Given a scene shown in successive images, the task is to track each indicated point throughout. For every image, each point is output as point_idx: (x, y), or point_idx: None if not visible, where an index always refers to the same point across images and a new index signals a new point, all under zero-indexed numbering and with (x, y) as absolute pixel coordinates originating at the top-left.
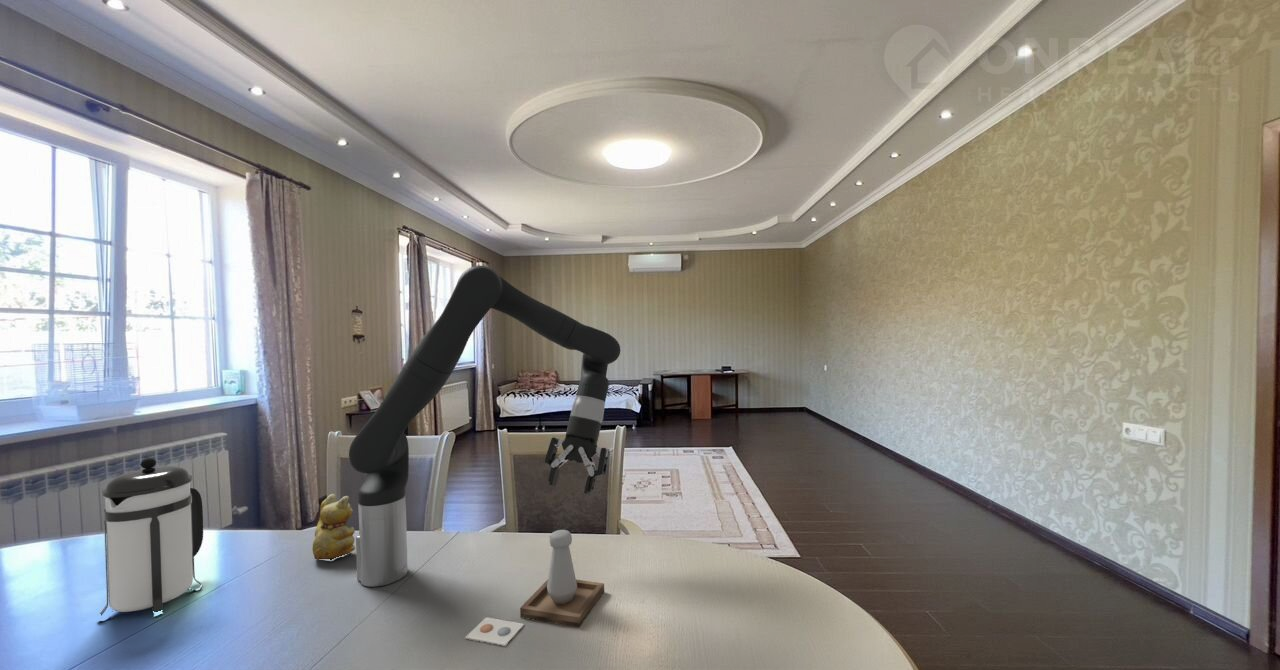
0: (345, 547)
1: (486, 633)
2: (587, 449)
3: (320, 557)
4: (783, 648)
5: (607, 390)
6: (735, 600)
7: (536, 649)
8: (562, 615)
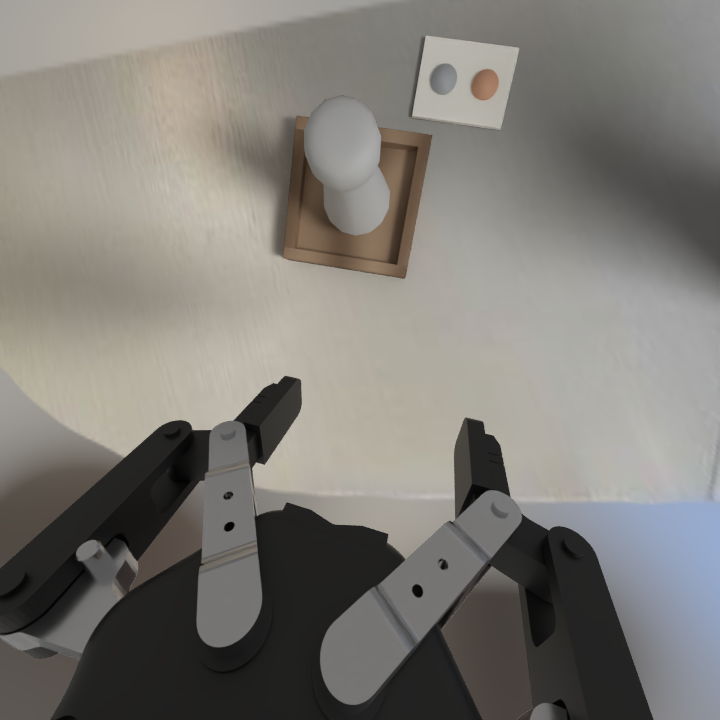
0: None
1: (478, 69)
2: (177, 620)
3: None
4: None
5: None
6: (54, 256)
7: (361, 41)
8: None
